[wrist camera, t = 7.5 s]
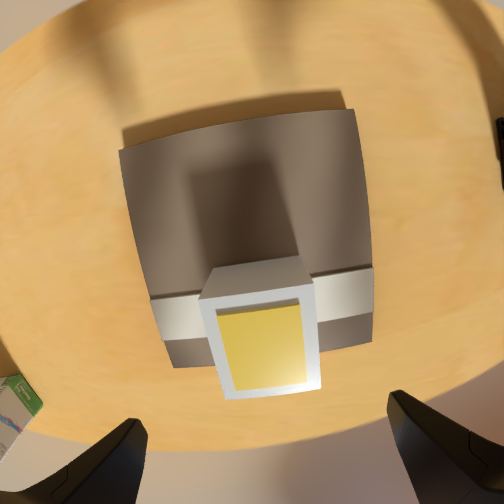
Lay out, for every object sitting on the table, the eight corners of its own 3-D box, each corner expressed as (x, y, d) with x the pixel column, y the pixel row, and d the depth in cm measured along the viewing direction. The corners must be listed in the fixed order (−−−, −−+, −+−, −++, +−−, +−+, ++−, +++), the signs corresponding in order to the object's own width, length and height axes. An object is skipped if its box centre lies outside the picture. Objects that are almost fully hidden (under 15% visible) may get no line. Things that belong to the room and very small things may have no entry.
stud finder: (299, 255, 16) (314, 284, 12) (309, 343, 18) (321, 390, 13) (213, 267, 17) (196, 301, 12) (232, 353, 18) (225, 402, 13)
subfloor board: (347, 112, 15) (354, 108, 14) (366, 333, 19) (372, 343, 18) (126, 151, 16) (116, 150, 15) (177, 358, 20) (172, 369, 19)
